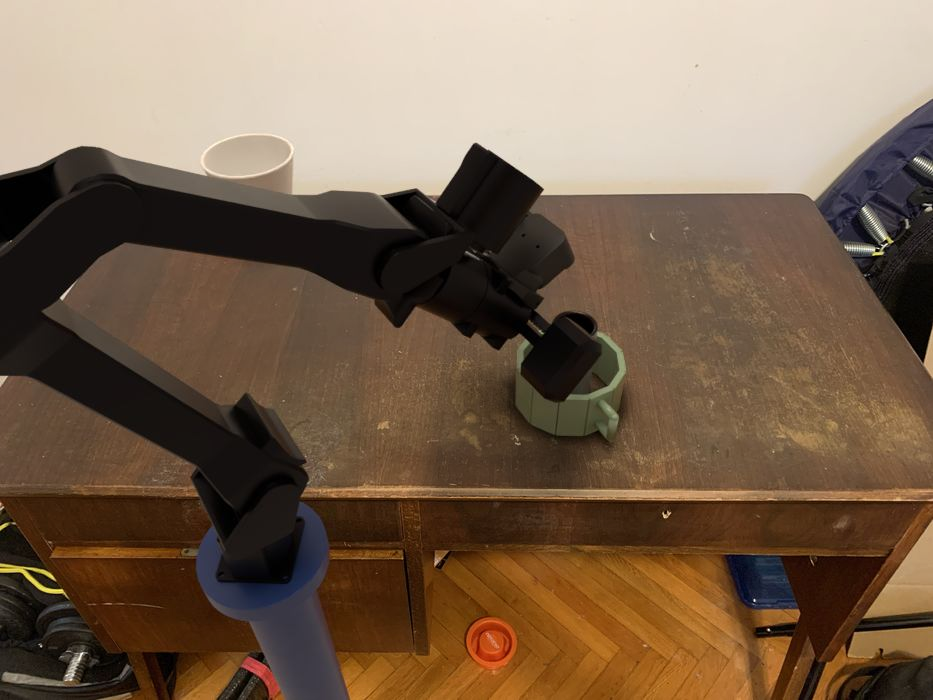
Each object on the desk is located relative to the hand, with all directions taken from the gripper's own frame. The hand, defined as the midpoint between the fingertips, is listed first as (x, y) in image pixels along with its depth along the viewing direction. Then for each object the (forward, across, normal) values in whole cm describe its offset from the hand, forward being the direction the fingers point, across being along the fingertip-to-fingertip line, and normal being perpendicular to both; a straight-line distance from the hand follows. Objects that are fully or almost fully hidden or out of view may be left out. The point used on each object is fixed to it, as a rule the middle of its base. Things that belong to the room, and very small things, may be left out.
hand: (558, 337), depth 71 cm
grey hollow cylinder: (+8, 0, +6) cm, 10 cm away
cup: (-3, +48, +16) cm, 50 cm away
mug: (+8, -1, +5) cm, 10 cm away
